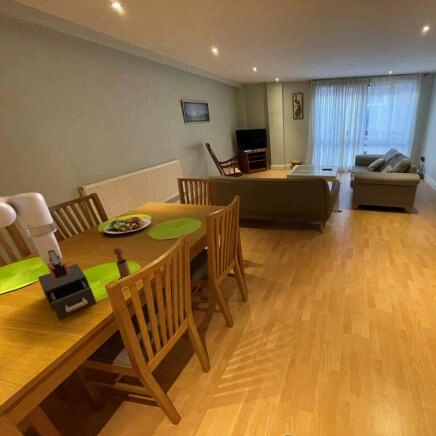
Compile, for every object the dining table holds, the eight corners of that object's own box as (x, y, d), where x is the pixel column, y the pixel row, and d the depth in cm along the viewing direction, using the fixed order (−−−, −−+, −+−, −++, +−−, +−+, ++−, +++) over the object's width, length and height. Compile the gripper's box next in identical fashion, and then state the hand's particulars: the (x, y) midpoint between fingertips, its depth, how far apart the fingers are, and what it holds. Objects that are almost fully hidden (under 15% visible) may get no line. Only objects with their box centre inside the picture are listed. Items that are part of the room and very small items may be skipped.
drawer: (100, 308, 93) (93, 292, 90) (61, 326, 85) (53, 309, 82) (87, 289, 104) (81, 274, 101) (52, 304, 96) (44, 288, 93)
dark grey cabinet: (93, 294, 102) (85, 276, 98) (53, 311, 93) (43, 292, 89) (84, 281, 111) (76, 263, 107) (46, 295, 102) (37, 276, 98)
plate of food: (94, 233, 158) (91, 224, 155) (132, 218, 182) (130, 210, 180) (125, 239, 150) (123, 230, 147) (161, 222, 174) (159, 214, 172)
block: (53, 279, 86) (48, 268, 84) (51, 274, 88) (46, 263, 87) (70, 273, 89) (65, 262, 87) (67, 268, 92) (63, 258, 90)
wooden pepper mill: (123, 288, 106) (112, 253, 99) (116, 283, 109) (104, 249, 102) (139, 280, 111) (129, 246, 104) (131, 276, 114) (121, 242, 108)
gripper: (22, 226, 84) (43, 269, 91) (27, 240, 74) (50, 288, 81) (50, 219, 89) (68, 261, 96) (59, 232, 79) (78, 277, 86)
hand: (60, 273), depth 89 cm, fingers closed on block, 4 cm apart
